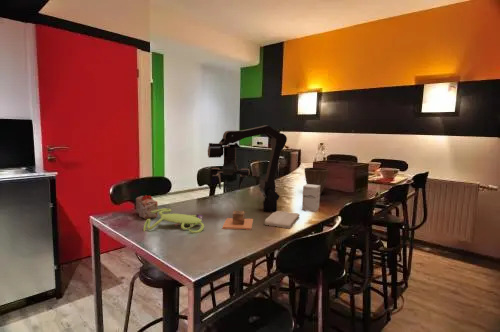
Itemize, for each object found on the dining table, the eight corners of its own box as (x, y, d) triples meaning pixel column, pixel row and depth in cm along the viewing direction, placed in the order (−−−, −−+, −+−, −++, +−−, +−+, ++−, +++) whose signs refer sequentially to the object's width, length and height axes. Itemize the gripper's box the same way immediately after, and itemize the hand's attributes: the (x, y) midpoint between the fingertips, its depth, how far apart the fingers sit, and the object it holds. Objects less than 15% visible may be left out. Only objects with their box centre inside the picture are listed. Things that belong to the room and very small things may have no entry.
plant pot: (299, 191, 194) (300, 167, 192) (319, 190, 198) (320, 167, 196) (310, 196, 180) (311, 171, 178) (331, 195, 184) (333, 170, 182)
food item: (160, 218, 135) (159, 197, 134) (143, 221, 130) (142, 199, 129) (149, 211, 146) (148, 191, 144) (133, 214, 141) (132, 194, 139)
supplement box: (301, 209, 152) (302, 185, 150) (306, 206, 158) (306, 183, 156) (315, 212, 148) (316, 187, 146) (319, 208, 155) (320, 184, 153)
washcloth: (300, 218, 139) (300, 212, 139) (290, 230, 123) (291, 223, 122) (276, 215, 144) (276, 208, 143) (263, 226, 127) (264, 219, 127)
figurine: (155, 217, 137) (155, 206, 136) (211, 220, 134) (211, 208, 133) (136, 231, 119) (135, 218, 118) (200, 235, 116) (200, 221, 115)
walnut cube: (244, 221, 130) (244, 211, 129) (243, 224, 125) (243, 214, 124) (234, 220, 130) (234, 210, 129) (232, 224, 125) (232, 213, 125)
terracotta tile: (253, 220, 133) (253, 218, 133) (251, 229, 121) (251, 228, 121) (226, 219, 134) (226, 218, 134) (222, 228, 122) (222, 227, 122)
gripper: (207, 158, 133) (207, 192, 135) (248, 159, 131) (247, 193, 134) (211, 156, 144) (211, 187, 146) (249, 157, 142) (249, 188, 145)
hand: (229, 189), depth 142 cm, fingers open, 9 cm apart
